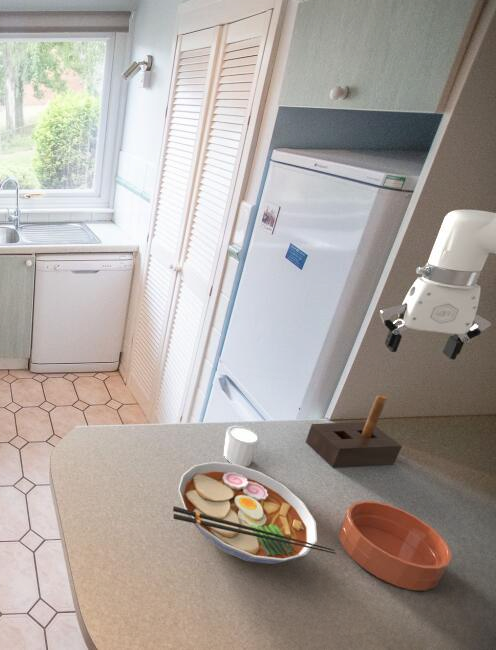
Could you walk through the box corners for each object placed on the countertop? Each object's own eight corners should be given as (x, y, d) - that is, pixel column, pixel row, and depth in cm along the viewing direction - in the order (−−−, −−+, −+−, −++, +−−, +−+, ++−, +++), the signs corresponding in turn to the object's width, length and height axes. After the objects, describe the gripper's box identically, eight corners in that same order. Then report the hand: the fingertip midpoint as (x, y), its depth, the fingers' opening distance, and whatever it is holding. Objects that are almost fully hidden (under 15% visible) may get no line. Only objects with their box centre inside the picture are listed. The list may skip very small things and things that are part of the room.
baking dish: (414, 536, 86) (426, 512, 84) (455, 604, 74) (470, 579, 72) (328, 515, 91) (337, 492, 88) (353, 577, 79) (364, 552, 76)
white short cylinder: (224, 466, 104) (230, 441, 101) (217, 446, 110) (223, 423, 107) (257, 471, 102) (264, 446, 99) (248, 450, 108) (255, 427, 105)
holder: (305, 442, 111) (311, 423, 109) (362, 439, 112) (369, 421, 110) (332, 467, 103) (340, 448, 101) (393, 464, 104) (402, 445, 101)
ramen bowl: (295, 506, 93) (306, 475, 90) (331, 611, 73) (347, 577, 70) (165, 476, 101) (171, 446, 98) (166, 564, 81) (174, 531, 78)
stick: (364, 452, 108) (387, 395, 101) (365, 456, 106) (389, 399, 100) (352, 449, 109) (375, 393, 102) (354, 453, 107) (377, 397, 101)
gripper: (403, 276, 87) (375, 354, 94) (522, 286, 82) (483, 368, 88) (387, 265, 94) (362, 339, 101) (496, 273, 88) (462, 351, 95)
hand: (419, 352), depth 94 cm, fingers open, 9 cm apart
